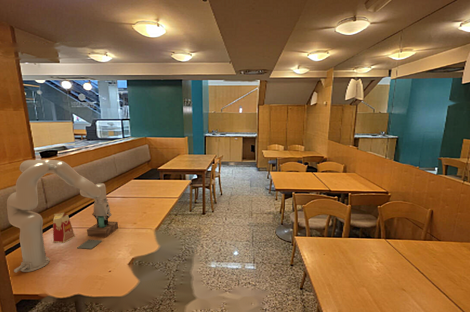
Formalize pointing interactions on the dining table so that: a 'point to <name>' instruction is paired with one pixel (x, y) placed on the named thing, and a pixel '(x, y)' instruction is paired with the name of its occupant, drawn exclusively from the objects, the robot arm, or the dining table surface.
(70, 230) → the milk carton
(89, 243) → the mat
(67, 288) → the dining table surface
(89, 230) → the pocket block
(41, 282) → the dining table surface
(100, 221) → the peg
